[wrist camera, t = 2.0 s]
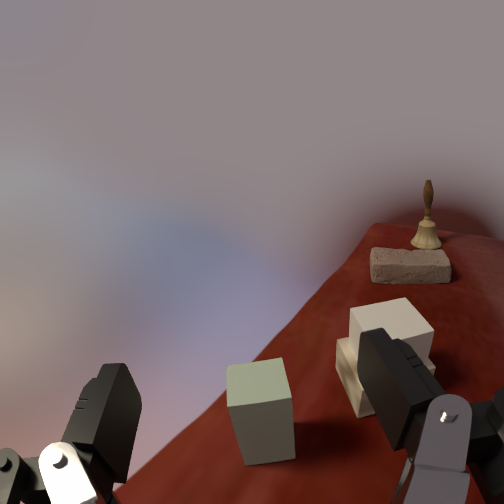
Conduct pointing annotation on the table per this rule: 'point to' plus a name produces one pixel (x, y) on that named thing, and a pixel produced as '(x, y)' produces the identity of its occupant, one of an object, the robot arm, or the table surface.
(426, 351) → the tower top
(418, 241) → the hand bell
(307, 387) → the table surface
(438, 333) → the table surface
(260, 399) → the sage pillar
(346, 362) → the tower base
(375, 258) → the brick
